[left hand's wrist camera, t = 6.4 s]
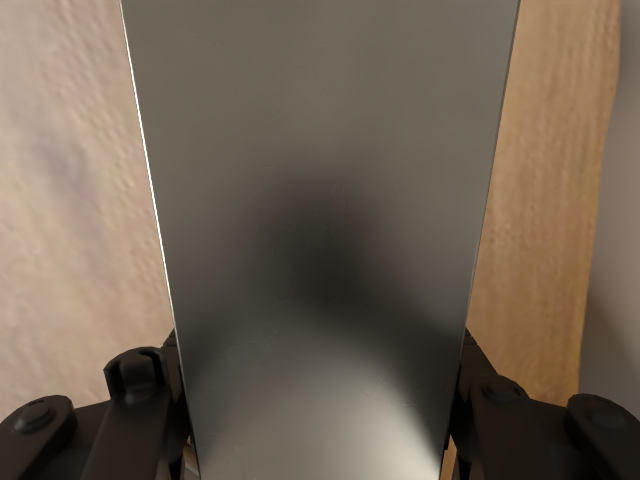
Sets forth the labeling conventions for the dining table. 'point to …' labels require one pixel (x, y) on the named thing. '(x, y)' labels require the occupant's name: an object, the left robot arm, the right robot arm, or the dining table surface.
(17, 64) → the dining table surface
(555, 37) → the dining table surface
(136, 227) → the dining table surface
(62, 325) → the dining table surface
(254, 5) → the bar
